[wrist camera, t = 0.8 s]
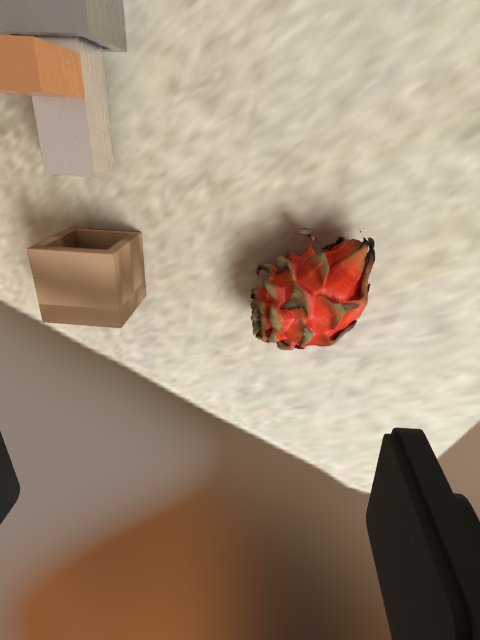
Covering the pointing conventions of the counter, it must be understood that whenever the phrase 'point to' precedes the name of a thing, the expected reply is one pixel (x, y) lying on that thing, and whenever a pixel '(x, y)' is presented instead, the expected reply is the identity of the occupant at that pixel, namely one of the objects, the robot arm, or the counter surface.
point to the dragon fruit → (313, 293)
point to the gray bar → (62, 99)
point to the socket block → (89, 276)
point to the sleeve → (67, 20)
